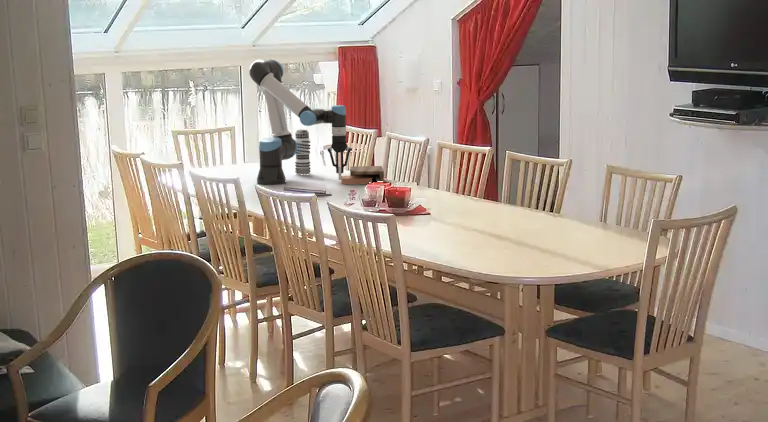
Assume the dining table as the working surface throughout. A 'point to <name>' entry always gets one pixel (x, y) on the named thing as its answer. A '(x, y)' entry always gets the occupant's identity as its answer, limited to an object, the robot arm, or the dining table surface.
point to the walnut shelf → (368, 171)
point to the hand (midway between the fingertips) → (340, 179)
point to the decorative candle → (302, 152)
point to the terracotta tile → (356, 179)
